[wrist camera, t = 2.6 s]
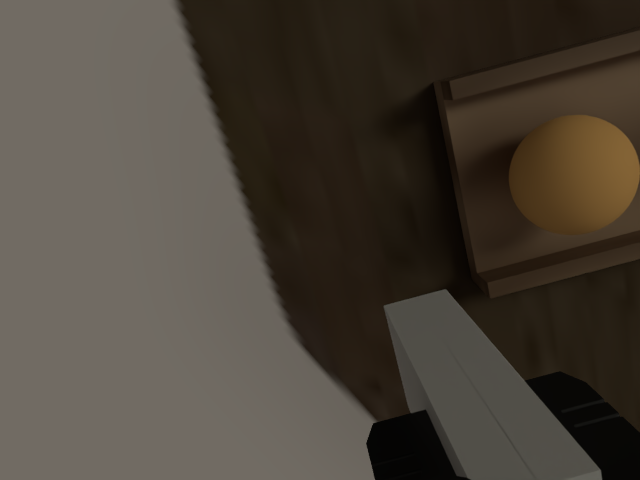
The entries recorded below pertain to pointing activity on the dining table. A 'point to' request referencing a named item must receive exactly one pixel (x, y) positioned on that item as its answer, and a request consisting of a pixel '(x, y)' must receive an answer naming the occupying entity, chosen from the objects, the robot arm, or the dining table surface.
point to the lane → (504, 138)
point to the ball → (574, 174)
